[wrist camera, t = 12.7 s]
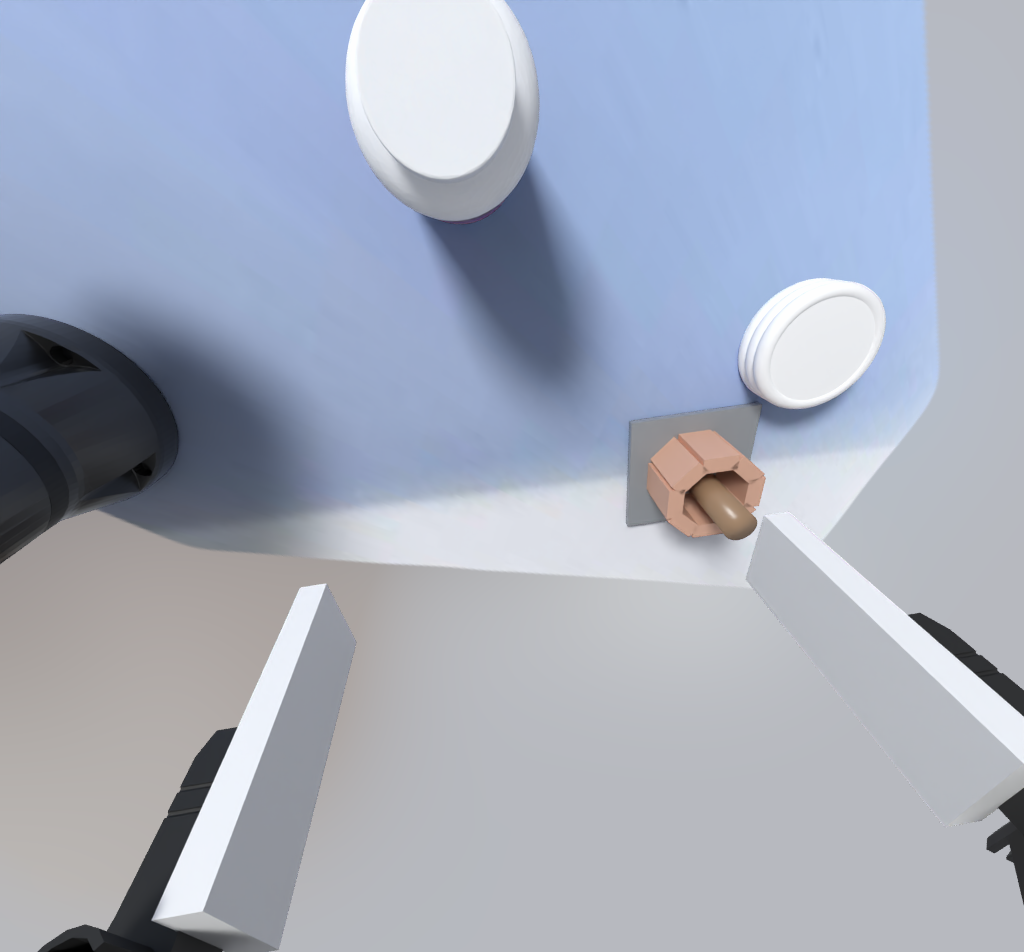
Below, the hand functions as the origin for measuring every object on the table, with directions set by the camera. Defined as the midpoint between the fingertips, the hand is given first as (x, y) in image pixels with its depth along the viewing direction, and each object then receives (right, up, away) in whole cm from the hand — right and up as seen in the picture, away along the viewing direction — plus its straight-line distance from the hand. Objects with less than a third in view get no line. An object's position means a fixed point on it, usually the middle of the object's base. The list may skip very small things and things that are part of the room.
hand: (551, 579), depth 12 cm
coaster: (+23, +15, +22) cm, 35 cm away
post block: (+16, +4, +28) cm, 33 cm away
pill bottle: (-5, +24, +14) cm, 28 cm away
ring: (+16, +4, +27) cm, 32 cm away
